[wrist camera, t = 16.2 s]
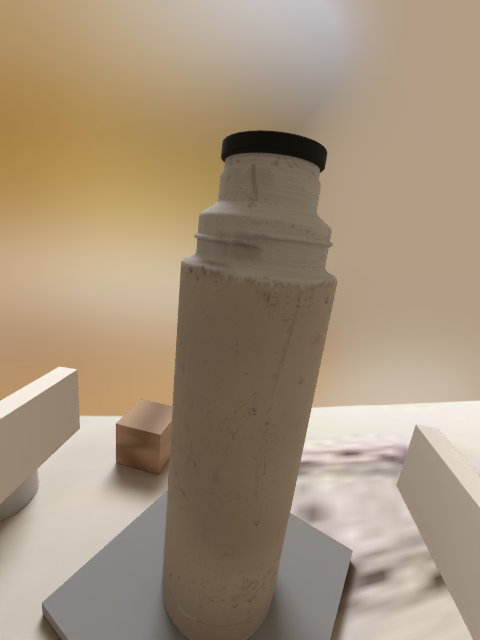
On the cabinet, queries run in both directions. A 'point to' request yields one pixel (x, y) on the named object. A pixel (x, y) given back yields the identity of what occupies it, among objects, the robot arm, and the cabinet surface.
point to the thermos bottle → (244, 382)
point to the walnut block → (144, 436)
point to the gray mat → (147, 595)
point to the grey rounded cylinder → (20, 496)
